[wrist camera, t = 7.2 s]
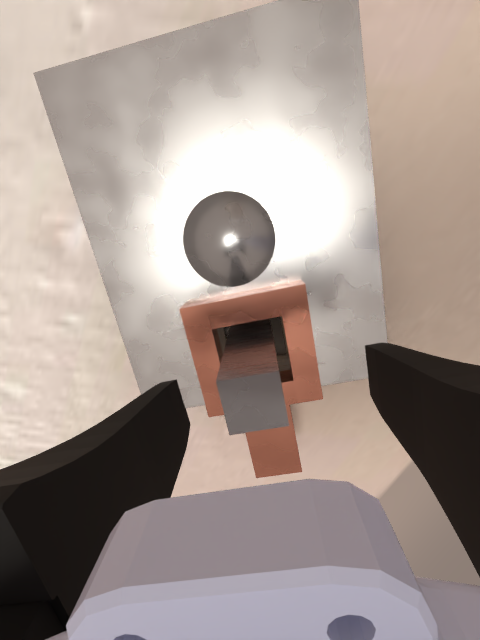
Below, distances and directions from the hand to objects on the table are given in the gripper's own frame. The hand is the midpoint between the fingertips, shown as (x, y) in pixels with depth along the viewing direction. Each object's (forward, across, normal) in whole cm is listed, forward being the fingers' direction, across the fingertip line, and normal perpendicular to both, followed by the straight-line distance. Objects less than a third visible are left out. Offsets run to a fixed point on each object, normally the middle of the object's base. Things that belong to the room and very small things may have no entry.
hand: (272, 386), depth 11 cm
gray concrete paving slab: (+10, +1, -3) cm, 10 cm away
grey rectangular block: (+10, +1, +1) cm, 10 cm away
